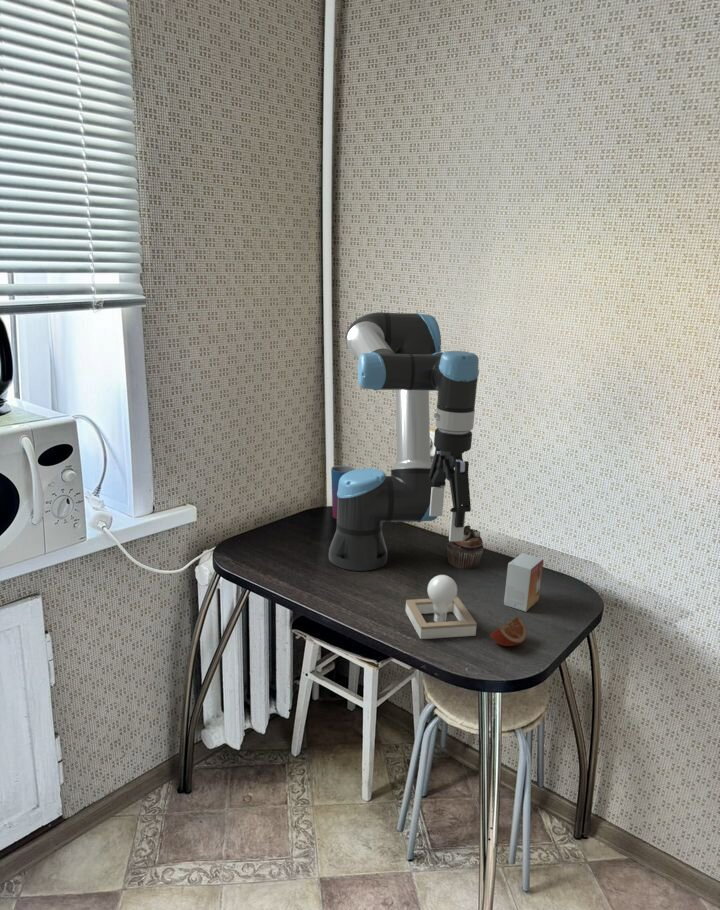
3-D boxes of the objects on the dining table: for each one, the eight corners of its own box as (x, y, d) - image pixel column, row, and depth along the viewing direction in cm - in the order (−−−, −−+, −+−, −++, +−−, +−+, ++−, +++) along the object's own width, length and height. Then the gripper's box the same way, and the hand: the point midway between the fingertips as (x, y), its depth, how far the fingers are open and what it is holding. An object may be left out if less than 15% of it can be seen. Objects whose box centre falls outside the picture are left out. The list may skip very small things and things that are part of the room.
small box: (526, 612, 160) (531, 569, 157) (503, 605, 163) (507, 562, 160) (539, 600, 166) (544, 558, 164) (516, 593, 170) (521, 552, 167)
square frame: (405, 611, 158) (406, 599, 157) (456, 608, 161) (457, 597, 160) (420, 639, 147) (421, 626, 146) (475, 635, 149) (476, 623, 149)
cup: (330, 520, 210) (331, 471, 206) (329, 512, 217) (330, 465, 213) (353, 520, 211) (355, 472, 207) (351, 512, 217) (353, 465, 213)
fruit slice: (505, 630, 152) (507, 609, 151) (532, 642, 148) (535, 621, 146) (482, 644, 146) (484, 622, 145) (511, 657, 142) (513, 635, 140)
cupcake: (489, 564, 185) (493, 528, 182) (463, 573, 179) (467, 536, 176) (462, 552, 192) (466, 517, 189) (437, 560, 186) (439, 524, 183)
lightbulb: (435, 613, 158) (439, 567, 155) (460, 622, 154) (464, 576, 151) (419, 623, 153) (422, 576, 150) (443, 633, 149) (448, 585, 147)
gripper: (418, 414, 154) (412, 506, 160) (456, 446, 131) (446, 553, 137) (451, 414, 156) (444, 505, 162) (494, 446, 132) (483, 551, 139)
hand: (445, 527), depth 149 cm, fingers open, 13 cm apart
